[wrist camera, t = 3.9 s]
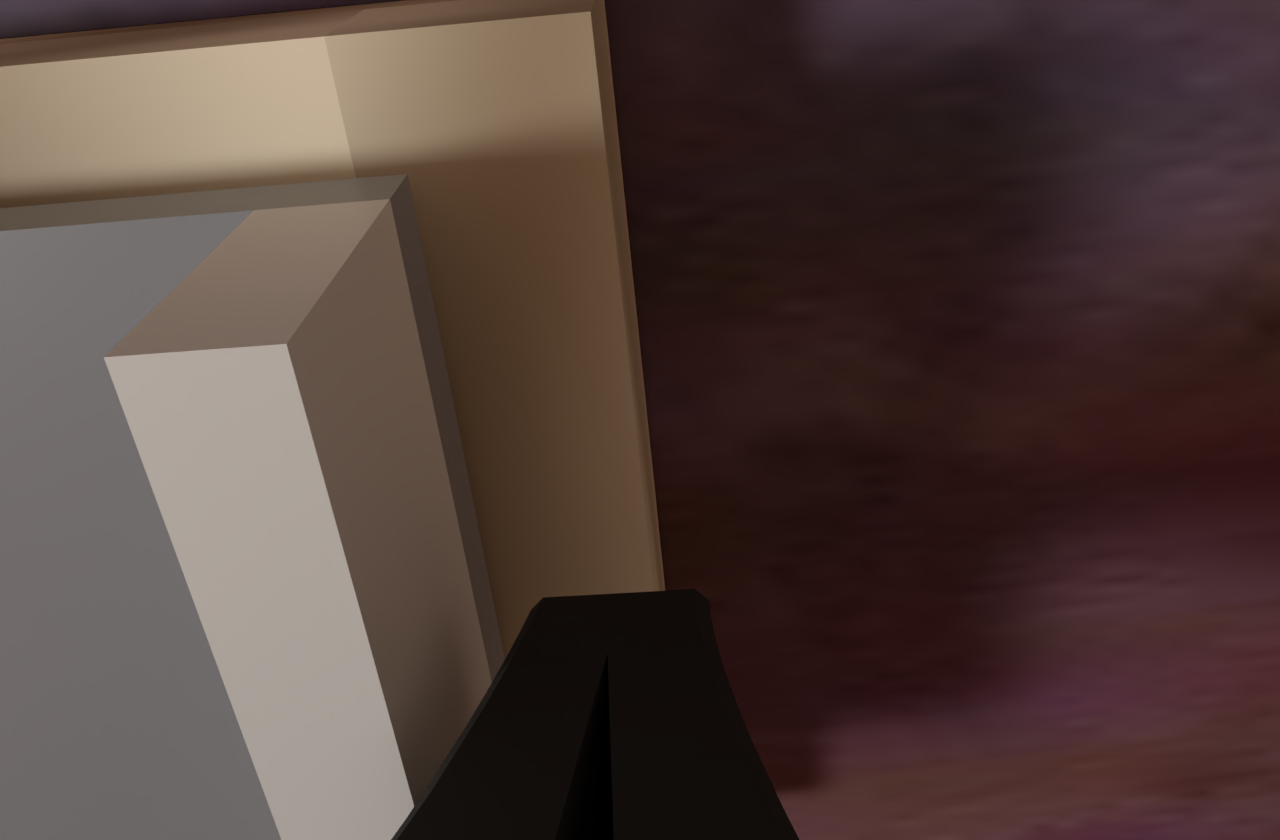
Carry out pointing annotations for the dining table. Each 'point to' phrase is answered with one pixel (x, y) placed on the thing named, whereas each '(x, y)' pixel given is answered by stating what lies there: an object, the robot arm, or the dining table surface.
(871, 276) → the dining table surface
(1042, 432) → the dining table surface
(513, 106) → the board
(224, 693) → the cover
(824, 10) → the dining table surface
